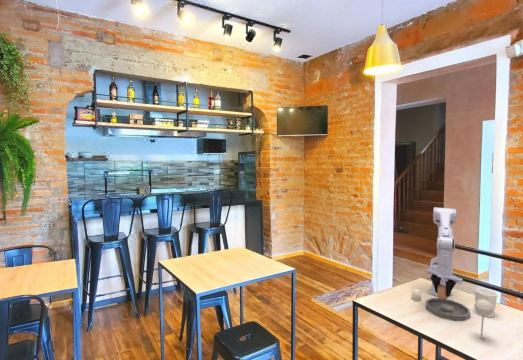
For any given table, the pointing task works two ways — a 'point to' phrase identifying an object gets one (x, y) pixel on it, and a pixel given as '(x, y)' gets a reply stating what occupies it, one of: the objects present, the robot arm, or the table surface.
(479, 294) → the white cup
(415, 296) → the bead cream
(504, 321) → the table surface
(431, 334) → the table surface
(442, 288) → the bead terracotta
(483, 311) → the lollipop
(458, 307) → the groove tray
